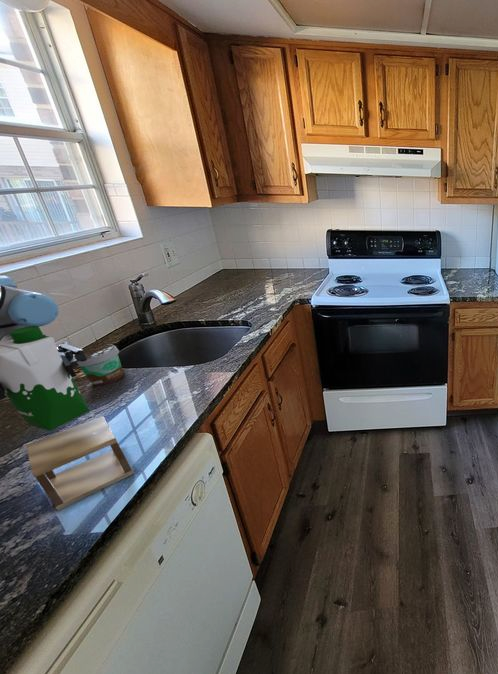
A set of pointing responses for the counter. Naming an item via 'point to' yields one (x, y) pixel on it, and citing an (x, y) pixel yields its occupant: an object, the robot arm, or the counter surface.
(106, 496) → the counter surface
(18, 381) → the soya milk
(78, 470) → the rack
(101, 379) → the food container
